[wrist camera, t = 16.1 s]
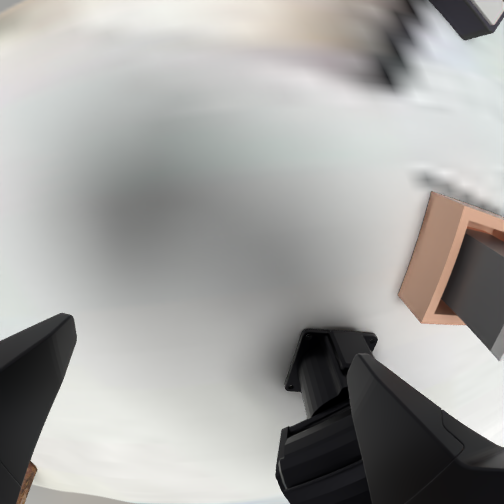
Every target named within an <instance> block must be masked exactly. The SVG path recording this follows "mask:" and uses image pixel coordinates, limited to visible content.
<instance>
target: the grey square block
mask: <svg viewBox="0 0 504 504" xmlns="http://www.w3.org/2000/svg"><path fill="white" fill-rule="evenodd" d="M441 299H442V300H443V301H444V302H445V303H446V304H447V305H448V306H449V307H450V308H451V309H452V310H453V311H454V313H455V314H456V315H457V316H458V317H459V318H460V319H461V320H462V321H463V322H464V323H465V324H466V325H467V326H468V327H469V328H470V329H471V330H472V332H473V333H474V334H475V335H476V336H477V337H478V338H479V339H480V340H481V341H482V342H483V344H484V345H485V346H486V347H487V348H488V349H489V350H490V351H491V353H492V354H493V355H494V356H495V357H496V358H497V359H498V361H503V360H504V242H503V241H502V240H500V239H498V238H497V237H495V236H493V235H491V234H490V233H488V232H486V231H484V230H480V229H476V228H472V227H468V226H467V229H466V232H465V235H464V238H463V241H462V244H461V247H460V250H459V253H458V256H457V258H456V261H455V264H454V267H453V269H452V272H451V275H450V277H449V280H448V282H447V285H446V287H445V290H444V292H443V294H442V297H441Z"/></svg>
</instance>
